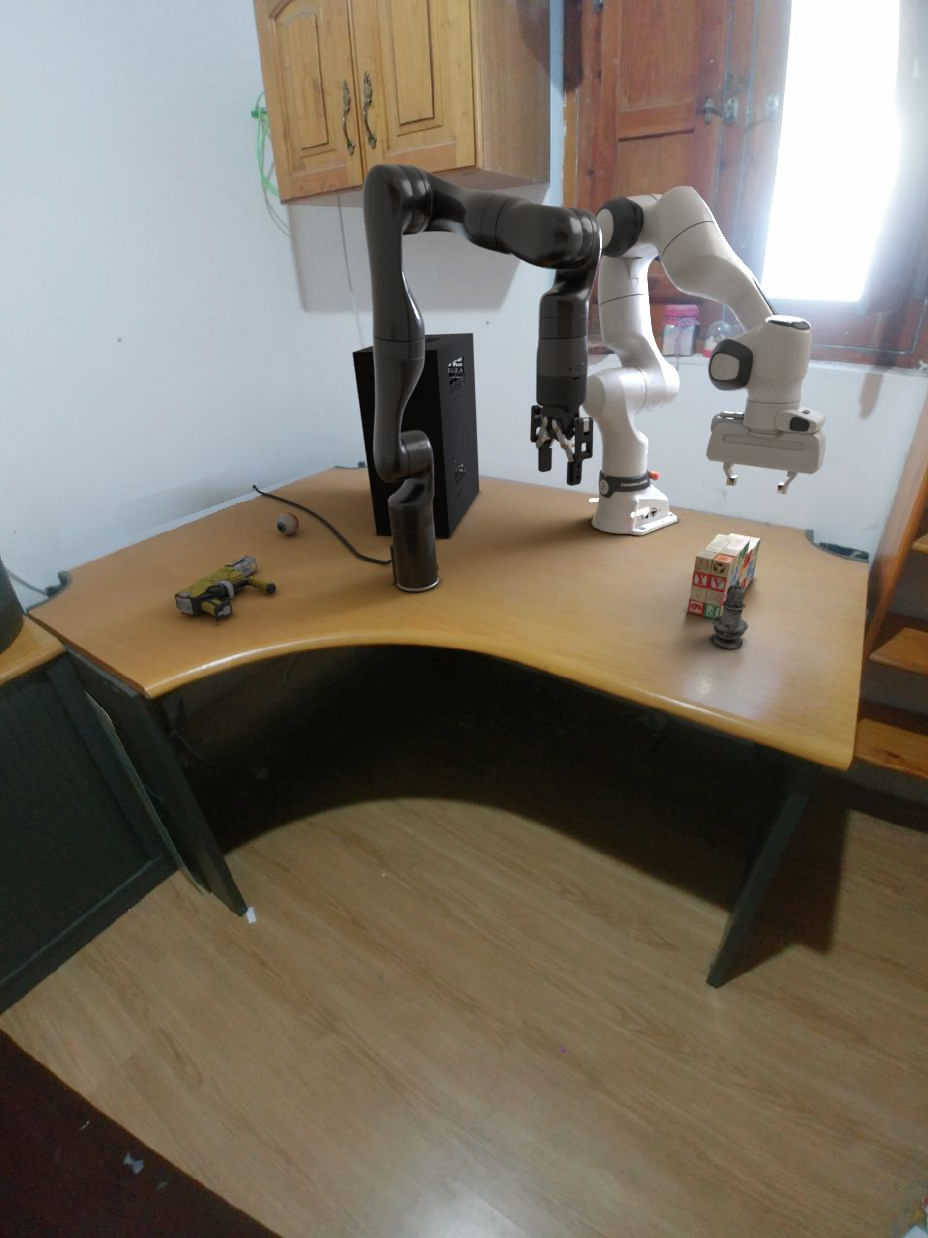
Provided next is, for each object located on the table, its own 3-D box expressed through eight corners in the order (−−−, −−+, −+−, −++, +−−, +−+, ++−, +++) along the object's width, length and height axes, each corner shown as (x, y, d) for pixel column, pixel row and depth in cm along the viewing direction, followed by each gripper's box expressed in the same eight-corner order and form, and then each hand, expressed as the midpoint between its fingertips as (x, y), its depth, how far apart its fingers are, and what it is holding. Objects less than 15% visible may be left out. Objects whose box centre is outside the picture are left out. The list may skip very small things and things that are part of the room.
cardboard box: (449, 537, 157) (436, 349, 134) (376, 534, 161) (352, 352, 139) (479, 491, 188) (473, 332, 166) (417, 489, 193) (403, 335, 170)
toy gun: (297, 563, 140) (243, 552, 144) (229, 608, 120) (168, 594, 124) (299, 582, 142) (245, 570, 146) (233, 629, 122) (172, 614, 126)
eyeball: (273, 537, 164) (268, 516, 161) (287, 528, 169) (282, 508, 166) (291, 539, 161) (286, 518, 158) (305, 530, 166) (301, 510, 163)
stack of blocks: (723, 572, 132) (733, 518, 126) (753, 579, 129) (765, 524, 122) (686, 612, 118) (695, 554, 112) (719, 621, 115) (730, 562, 108)
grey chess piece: (747, 650, 105) (760, 589, 99) (711, 648, 106) (722, 587, 100) (741, 633, 110) (753, 574, 104) (707, 631, 111) (717, 572, 105)
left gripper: (516, 367, 93) (516, 471, 102) (566, 378, 82) (563, 493, 90) (557, 362, 96) (554, 463, 104) (612, 372, 85) (604, 485, 93)
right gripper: (706, 413, 114) (696, 484, 121) (826, 424, 102) (807, 502, 109) (719, 407, 118) (708, 476, 125) (835, 417, 107) (817, 493, 113)
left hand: (558, 477), depth 97 cm, fingers open, 8 cm apart
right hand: (755, 488), depth 117 cm, fingers open, 8 cm apart
